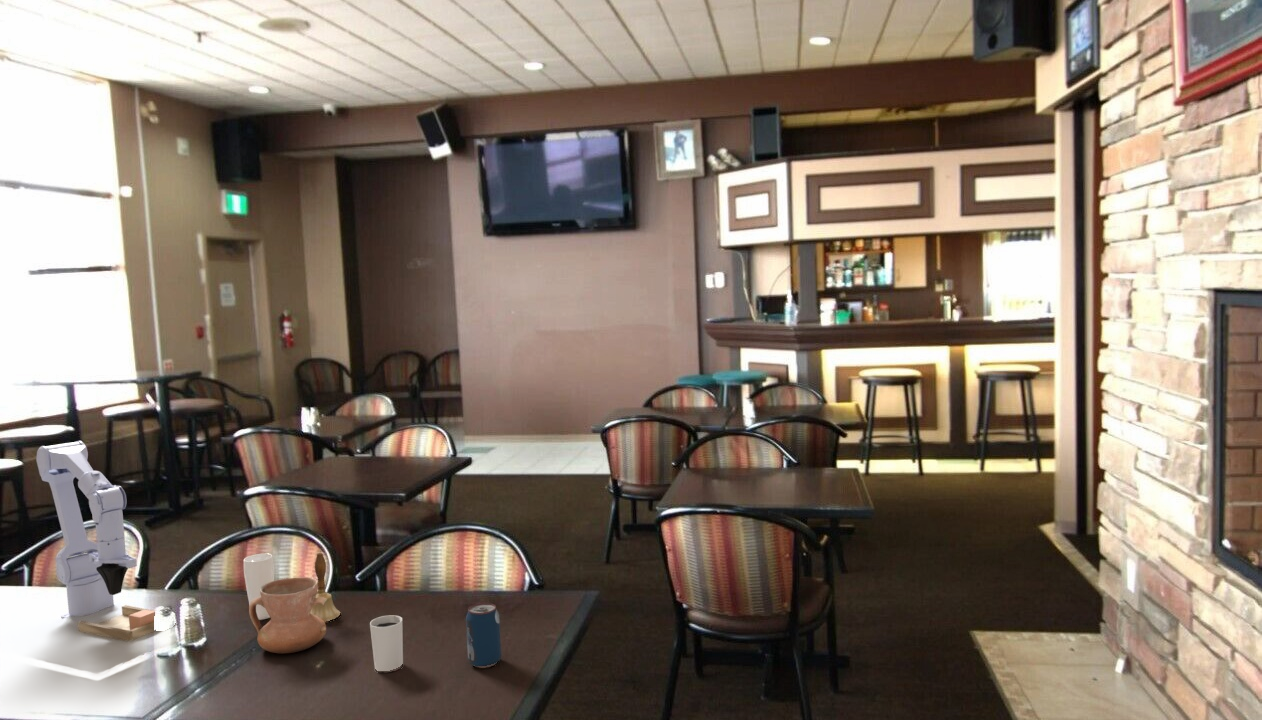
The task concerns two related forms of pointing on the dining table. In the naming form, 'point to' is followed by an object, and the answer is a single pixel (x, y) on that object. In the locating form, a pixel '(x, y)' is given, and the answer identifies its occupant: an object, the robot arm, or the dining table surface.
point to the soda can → (483, 634)
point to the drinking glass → (258, 578)
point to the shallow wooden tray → (118, 626)
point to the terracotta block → (141, 618)
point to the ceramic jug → (289, 615)
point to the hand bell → (323, 593)
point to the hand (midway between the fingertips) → (115, 593)
